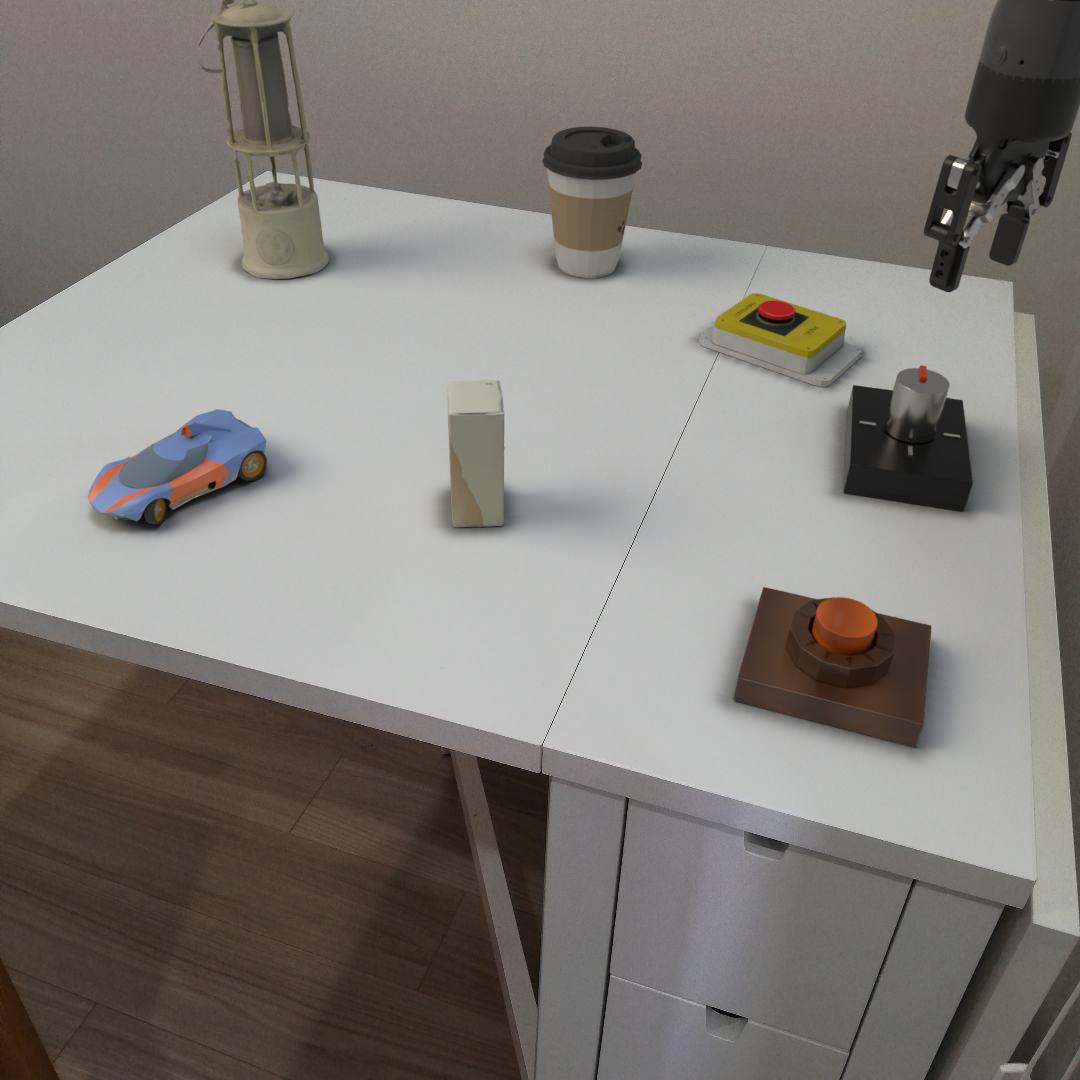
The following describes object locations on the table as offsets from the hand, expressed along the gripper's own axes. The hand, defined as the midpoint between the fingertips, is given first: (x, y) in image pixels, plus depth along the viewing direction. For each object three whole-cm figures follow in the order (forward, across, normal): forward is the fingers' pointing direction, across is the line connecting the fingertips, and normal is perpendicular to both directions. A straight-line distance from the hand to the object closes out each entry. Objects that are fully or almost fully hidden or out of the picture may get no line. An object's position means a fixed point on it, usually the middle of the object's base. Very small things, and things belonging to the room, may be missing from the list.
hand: (973, 274), depth 85 cm
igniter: (+18, -28, -12) cm, 36 cm away
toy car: (+18, -54, +36) cm, 68 cm away
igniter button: (+14, -28, -12) cm, 34 cm away
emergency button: (+18, +6, +21) cm, 28 cm away
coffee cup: (+18, +4, +50) cm, 53 cm away
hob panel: (+18, -2, +1) cm, 18 cm away
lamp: (+18, -25, +74) cm, 80 cm away
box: (+18, -37, +18) cm, 45 cm away
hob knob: (+15, -2, +1) cm, 15 cm away
